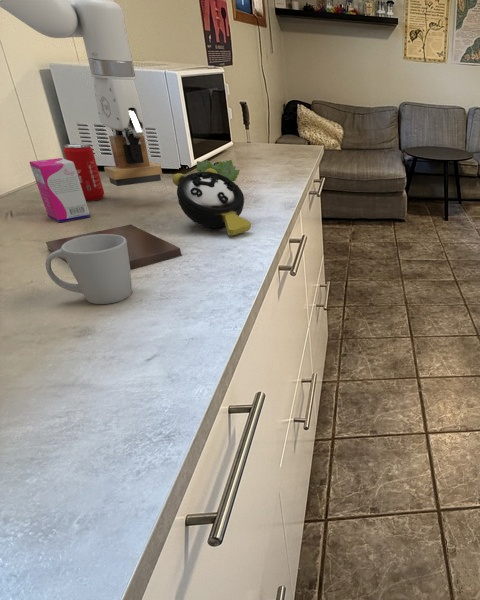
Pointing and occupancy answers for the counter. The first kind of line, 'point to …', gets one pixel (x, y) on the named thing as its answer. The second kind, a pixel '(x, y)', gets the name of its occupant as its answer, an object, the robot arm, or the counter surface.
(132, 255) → the cutting board
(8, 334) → the counter surface
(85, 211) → the supplement box
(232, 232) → the alarm clock
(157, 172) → the brush
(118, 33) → the robot arm
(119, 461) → the counter surface
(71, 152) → the beverage can
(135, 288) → the counter surface
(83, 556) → the counter surface
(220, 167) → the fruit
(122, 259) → the cup
